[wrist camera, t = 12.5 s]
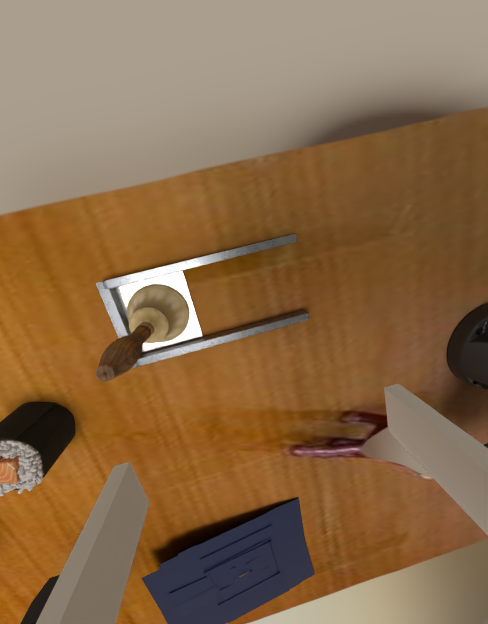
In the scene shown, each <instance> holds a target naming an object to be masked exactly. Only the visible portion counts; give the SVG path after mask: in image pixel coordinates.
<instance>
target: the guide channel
mask: <svg viewBox="0 0 488 624" xmlns="http://www.w3.org/2000/svg"><path fill="white" fill-rule="evenodd" d="M293 242H297V239H296V234H292V235H288V236H284V237H280V238H275V239H271V240H267V241H263V242H259V243H255V244H251V245H247V246H243V247H239V248H235V249H231V250H227V251H223V252H219V253H215V254H211V255H207V256H203V257H199V258H195V259H191V260H186V261H182V262H178V263H174V264H170V265H166V266H162V267H158V268H154V269H150V270H146V271H142V272H138V273H134V274H130V275H126V276H122V277H118V278H114V279H110V280H106V281H102V282H98V283H96V285H97V288H98V290H99V292H100V295H101V297H102V299H103V302H104V304H105V307H106V309H107V311H108V314H109V316H110V318H111V321H112V323H113V325H114V328H115V330H116V332H117V335H118V337H119V338H121V337H123V336H127V335H130V334H131V331H130V328H129V321H128V318H127V305H128V302H129V300H130V298H131V296H132V295H133V294H134V293H135V292H136V291H137V290H138V289H140V288H142V287H144V286H147V285H151V284H162V285H167V286H169V287H171V288H173V289H175V290H177V291H178V292H179V293H180V294H181V295H182V296H183V297H184V299H185V300H186V302H187V304H188V307H189V311H190V318H189V323H188V325H187V327H186V329H185V331H184V332H183V333H182V334H181V335H180V336H178V337H177V338H175V339H173V340H171V341H167V342H156V343H143V348H142V352H144V353H141V355H140V357H139V359H138V361H137V362H136V364H135V365H134V366H133V367H132V368H134V367H137V366H141V365H145V364H148V363H152V362H156V361H159V360H163V359H167V358H170V357H174V356H178V355H181V354H185V353H189V352H192V351H196V350H200V349H203V348H207V347H211V346H214V345H218V344H222V343H225V342H229V341H233V340H236V339H240V338H244V337H247V336H251V335H255V334H258V333H262V332H266V331H269V330H273V329H277V328H280V327H284V326H288V325H291V324H295V323H299V322H302V321H306V320H310V319H309V313H308V312H306V311H305V310H300V311H296V312H293V313H289V314H285V315H281V316H278V317H274V318H270V319H267V320H263V321H259V322H255V323H252V324H248V325H244V326H241V327H237V328H233V329H229V330H226V331H222V332H218V333H215V334H211V335H207V336H203V335H202V332H201V329H200V325H199V322H198V319H197V316H196V313H195V309H194V306H193V303H192V300H191V296H190V293H189V290H188V287H187V283H186V280H185V277H184V274H183V271H181V270H185V269H189V268H193V267H197V266H201V265H205V264H209V263H213V262H217V261H221V260H225V259H229V258H233V257H237V256H241V255H245V254H249V253H253V252H257V251H261V250H265V249H269V248H273V247H277V246H281V245H285V244H289V243H293ZM177 271H181V272H177ZM173 272H177V273H173ZM169 273H173V274H169ZM165 274H169V275H165ZM161 275H165V276H161ZM157 276H161V277H157ZM153 277H157V278H153ZM149 278H153V279H149ZM145 279H149V280H145ZM141 280H145V281H141ZM137 281H141V282H137ZM133 282H137V283H133ZM129 283H133V284H129ZM125 284H129V285H125ZM121 285H125V286H121ZM117 286H121V287H117ZM116 287H117V288H116ZM201 336H203V337H201ZM197 337H200V338H197ZM194 338H196V339H194ZM190 339H192V340H190ZM186 340H189V341H186ZM183 341H185V342H183ZM179 342H181V343H179ZM175 343H177V344H175ZM171 344H174V345H171ZM168 345H170V346H168ZM164 346H166V347H164ZM160 347H163V348H160ZM157 348H159V349H157ZM153 349H155V350H153ZM149 350H152V351H149ZM145 351H148V352H145Z"/></svg>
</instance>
